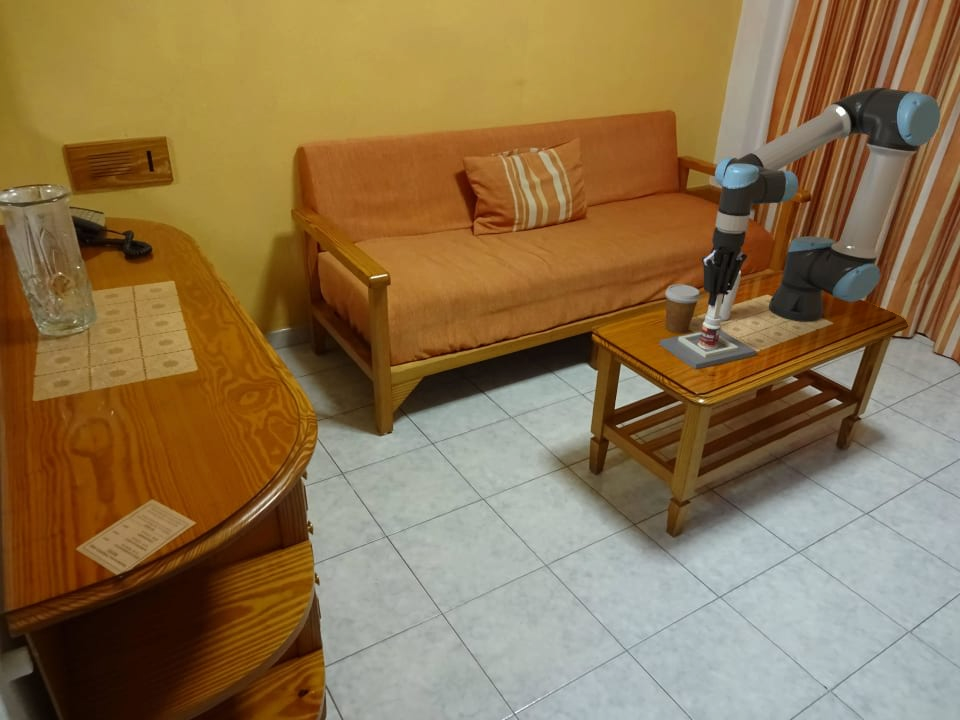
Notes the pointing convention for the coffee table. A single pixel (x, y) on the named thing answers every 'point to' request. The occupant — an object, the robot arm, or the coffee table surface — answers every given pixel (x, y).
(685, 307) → the disposable coffee cup
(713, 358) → the socket plate
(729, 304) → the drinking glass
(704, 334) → the pill bottle
